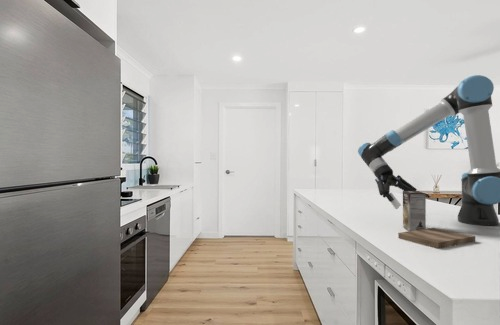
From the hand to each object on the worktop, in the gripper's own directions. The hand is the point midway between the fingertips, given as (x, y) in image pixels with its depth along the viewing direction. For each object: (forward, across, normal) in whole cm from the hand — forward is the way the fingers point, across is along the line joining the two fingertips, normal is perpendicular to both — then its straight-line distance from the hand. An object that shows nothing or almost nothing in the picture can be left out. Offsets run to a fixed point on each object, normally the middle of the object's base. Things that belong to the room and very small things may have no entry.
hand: (410, 206), depth 123 cm
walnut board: (+18, +6, +4) cm, 19 cm away
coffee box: (+8, -1, -6) cm, 10 cm away
